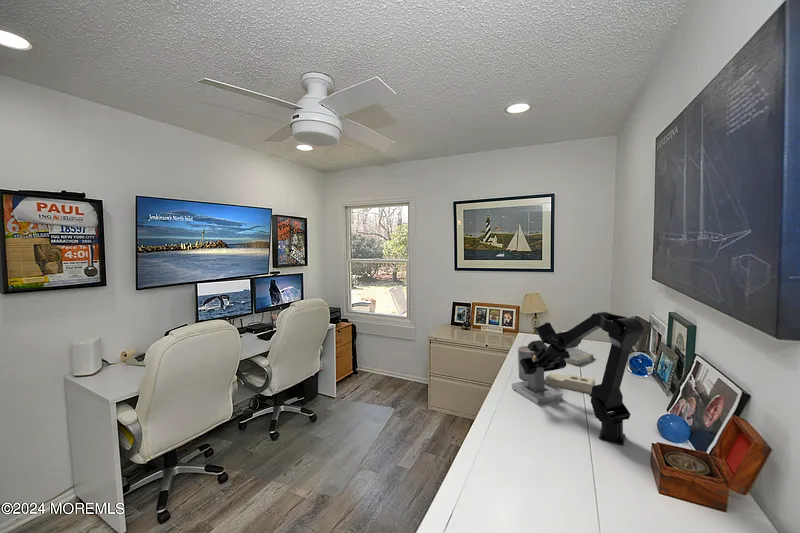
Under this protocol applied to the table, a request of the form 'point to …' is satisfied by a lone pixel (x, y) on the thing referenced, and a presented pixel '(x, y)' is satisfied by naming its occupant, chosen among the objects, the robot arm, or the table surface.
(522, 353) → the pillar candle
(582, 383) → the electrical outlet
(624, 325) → the robot arm
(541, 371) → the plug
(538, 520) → the table surface
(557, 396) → the socket plate
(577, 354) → the fossil
